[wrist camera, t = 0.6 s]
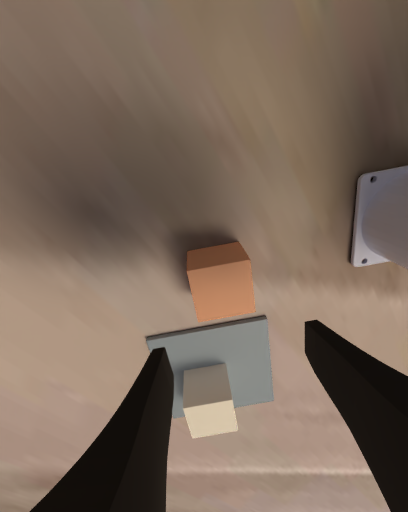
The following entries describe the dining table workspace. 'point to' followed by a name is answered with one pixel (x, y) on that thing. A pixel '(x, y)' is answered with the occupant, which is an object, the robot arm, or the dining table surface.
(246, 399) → the grey square plate
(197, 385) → the cream block
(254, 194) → the dining table surface
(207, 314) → the terracotta block
